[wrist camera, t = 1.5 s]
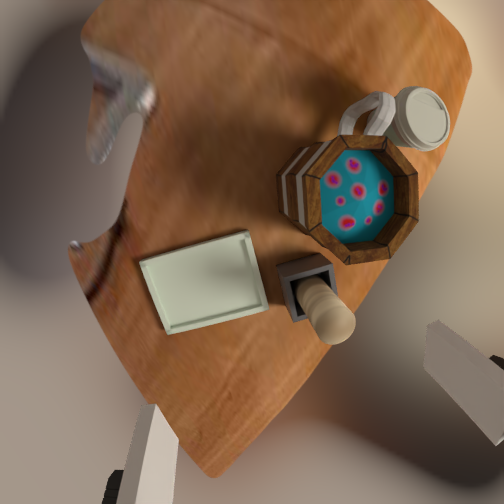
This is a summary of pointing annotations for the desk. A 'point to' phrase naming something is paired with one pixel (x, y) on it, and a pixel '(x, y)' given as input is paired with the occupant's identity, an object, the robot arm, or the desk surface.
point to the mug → (353, 188)
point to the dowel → (323, 309)
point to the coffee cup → (418, 119)
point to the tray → (205, 283)
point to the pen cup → (300, 270)
